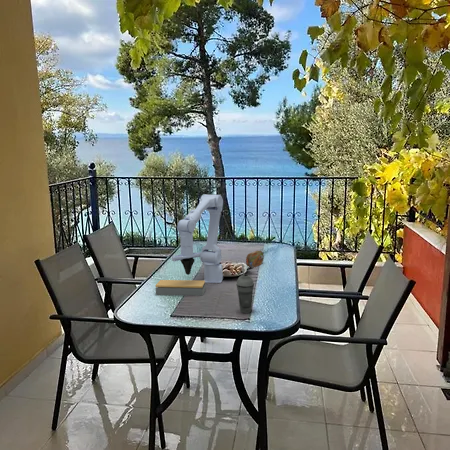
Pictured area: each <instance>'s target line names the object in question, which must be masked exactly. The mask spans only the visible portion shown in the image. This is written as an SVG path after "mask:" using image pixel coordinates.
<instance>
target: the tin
mask: <svg viewBox="0 0 450 450" xmlns="http://www.w3.org/2000/svg"><path fill="white" fill-rule="evenodd" d="M264 258H265V255H264V253H263V251H262V250H255V251H252V252H249V253H248V254H247V255H246V257H245V263H246V267H248V266H249V267H251V269H255V268H256V267H259V266H261V265H263V262H264ZM249 267H248V268H249ZM254 267H255V268H254Z"/></svg>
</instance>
